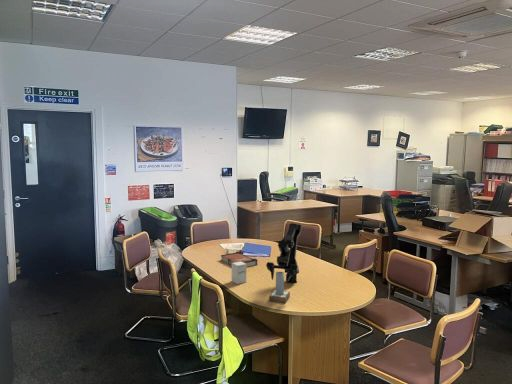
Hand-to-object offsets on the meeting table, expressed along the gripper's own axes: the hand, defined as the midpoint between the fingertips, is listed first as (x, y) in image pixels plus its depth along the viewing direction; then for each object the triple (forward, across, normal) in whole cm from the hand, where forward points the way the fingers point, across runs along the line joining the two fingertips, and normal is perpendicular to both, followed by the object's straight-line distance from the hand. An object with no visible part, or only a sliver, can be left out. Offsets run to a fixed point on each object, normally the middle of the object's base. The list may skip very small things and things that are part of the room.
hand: (279, 280), depth 232 cm
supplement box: (-6, -33, +23) cm, 40 cm away
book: (-34, -48, +52) cm, 78 cm away
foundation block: (+8, 0, +8) cm, 11 cm away
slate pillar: (+6, 0, +6) cm, 8 cm away
